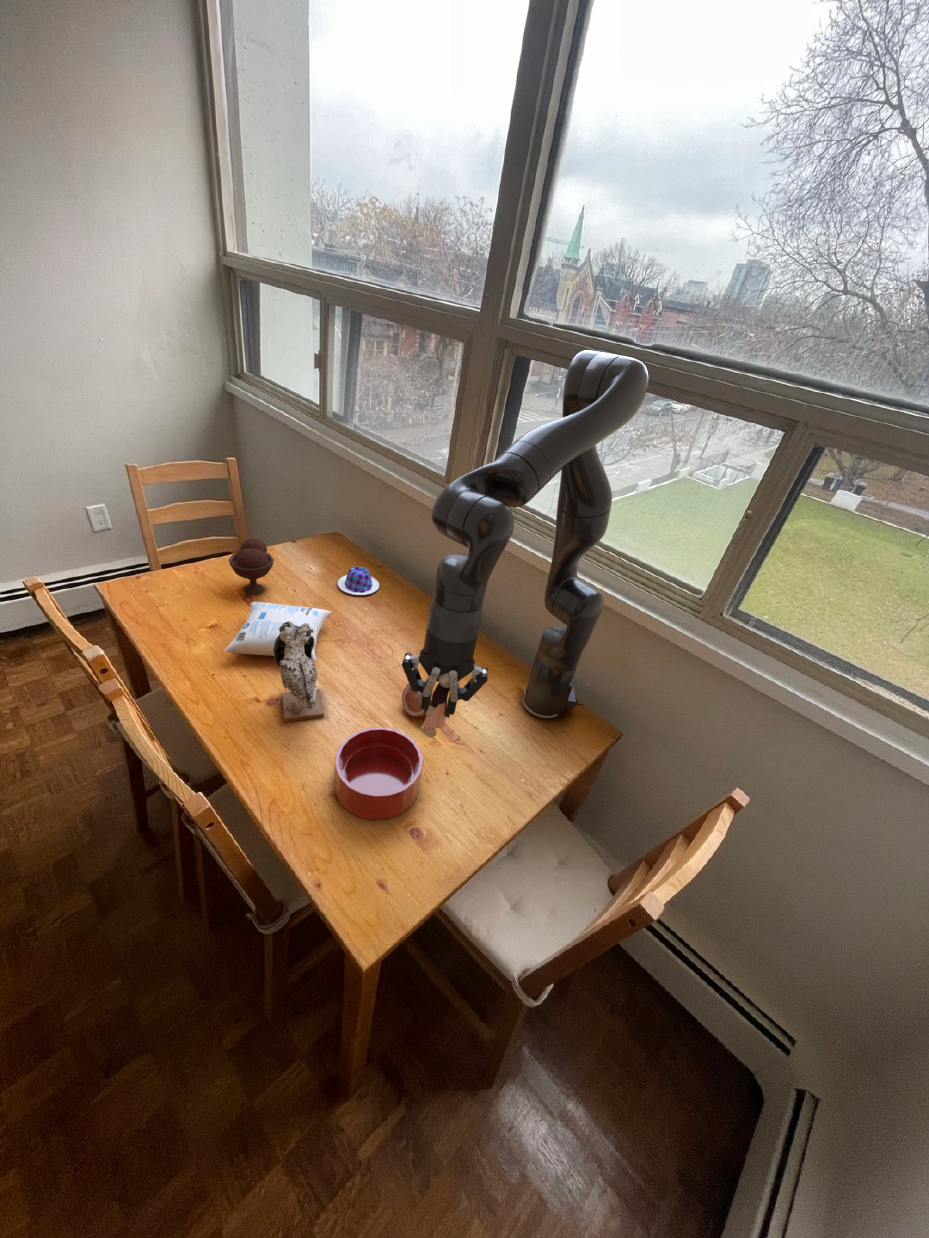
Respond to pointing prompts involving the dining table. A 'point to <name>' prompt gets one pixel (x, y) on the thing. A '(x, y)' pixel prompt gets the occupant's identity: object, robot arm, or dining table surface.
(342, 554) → the dining table surface
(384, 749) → the red bowl
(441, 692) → the grandmother figurine
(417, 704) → the fruit slice
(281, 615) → the pouch
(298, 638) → the stuffed bird
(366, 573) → the pudding
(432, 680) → the robot arm
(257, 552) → the ice cream bowl
